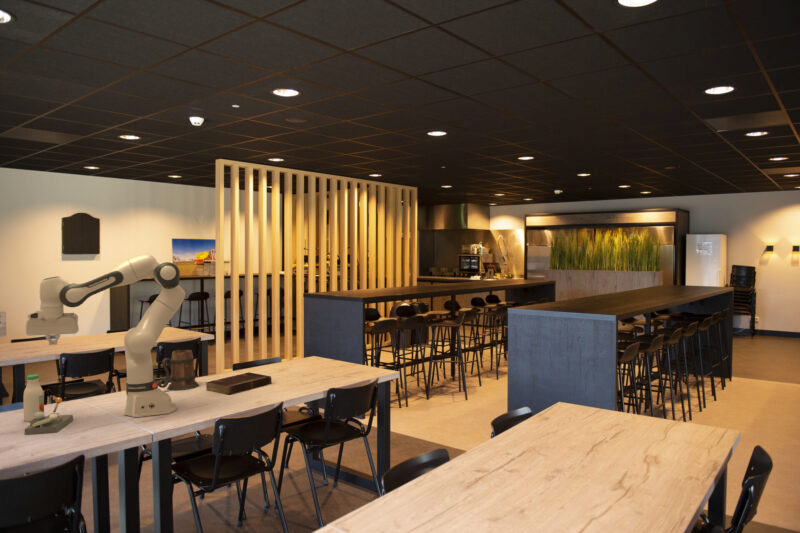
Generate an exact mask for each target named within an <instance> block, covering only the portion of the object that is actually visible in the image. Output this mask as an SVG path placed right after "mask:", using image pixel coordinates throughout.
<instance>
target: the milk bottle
mask: <svg viewBox="0 0 800 533" xmlns="http://www.w3.org/2000/svg"><path fill="white" fill-rule="evenodd" d="M39 380H40V374H36V373H35V374H28V375H27V376H26V381H27V382H26V387H25V389H24V391H23V400H22V401H23V420H24V422H30V421H31V420H33V419H34V418H35V413H36V412H44V413H45V401H44V400H45V398H44V397H45V396H44V390H43V388H42V386H41V384H40V382H39Z"/></svg>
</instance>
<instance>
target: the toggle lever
mask: <svg viewBox="0 0 800 533" xmlns="http://www.w3.org/2000/svg"><path fill="white" fill-rule="evenodd" d="M62 402H63V399H62V397H56V398H55V406H54V409H53V411H52V413H57V412H56V411H57V410H58V407H59V404H60V403H62Z"/></svg>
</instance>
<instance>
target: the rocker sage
mask: <svg viewBox="0 0 800 533" xmlns="http://www.w3.org/2000/svg"><path fill="white" fill-rule="evenodd" d="M51 420H52V418H48V419H45V420H42V421H39V422H36V423H34V424H32V426H33V427H35V426H38V425H41V424H44V423H47V422H50V421H51Z"/></svg>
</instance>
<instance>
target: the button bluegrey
mask: <svg viewBox="0 0 800 533" xmlns="http://www.w3.org/2000/svg"><path fill="white" fill-rule="evenodd" d="M44 417H45V411H44V412H36V413H35V419H36V420H38V419H43V418H44Z"/></svg>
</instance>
